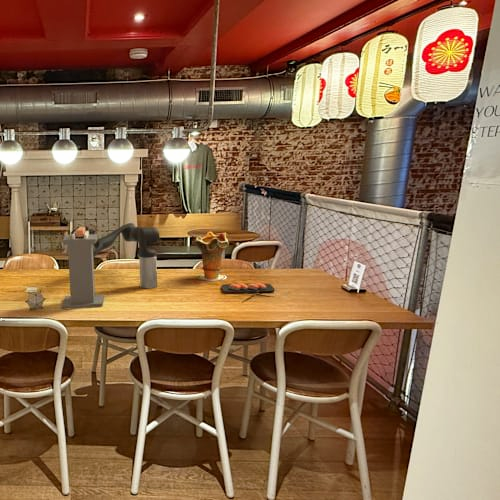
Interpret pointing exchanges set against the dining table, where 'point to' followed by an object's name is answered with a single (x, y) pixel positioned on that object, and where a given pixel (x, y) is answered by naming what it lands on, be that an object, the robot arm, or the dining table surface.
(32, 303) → the game die
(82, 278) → the stand
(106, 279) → the dining table surface
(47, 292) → the dining table surface
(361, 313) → the dining table surface
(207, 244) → the decorative vase
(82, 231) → the bar
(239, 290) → the sushi plate
